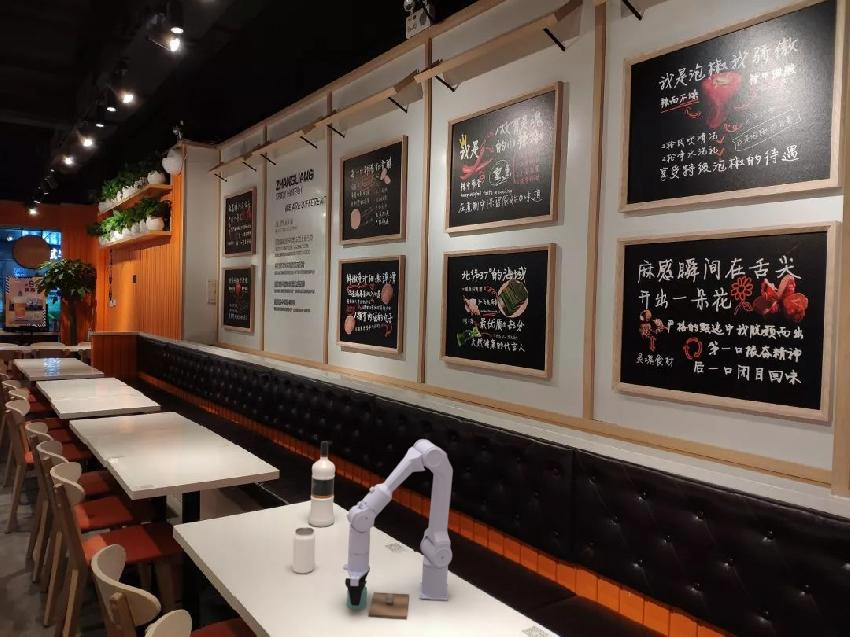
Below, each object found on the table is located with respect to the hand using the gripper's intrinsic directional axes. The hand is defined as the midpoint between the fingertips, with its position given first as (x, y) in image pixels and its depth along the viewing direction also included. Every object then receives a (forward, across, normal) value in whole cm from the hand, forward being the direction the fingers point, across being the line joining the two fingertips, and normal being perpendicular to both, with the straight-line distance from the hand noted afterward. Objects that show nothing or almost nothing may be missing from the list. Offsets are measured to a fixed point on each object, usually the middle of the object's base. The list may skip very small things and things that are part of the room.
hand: (356, 599), depth 172 cm
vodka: (+2, -57, -21) cm, 61 cm away
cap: (+1, 0, 0) cm, 1 cm away
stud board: (+1, 0, +9) cm, 9 cm away
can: (+2, -19, -19) cm, 27 cm away
